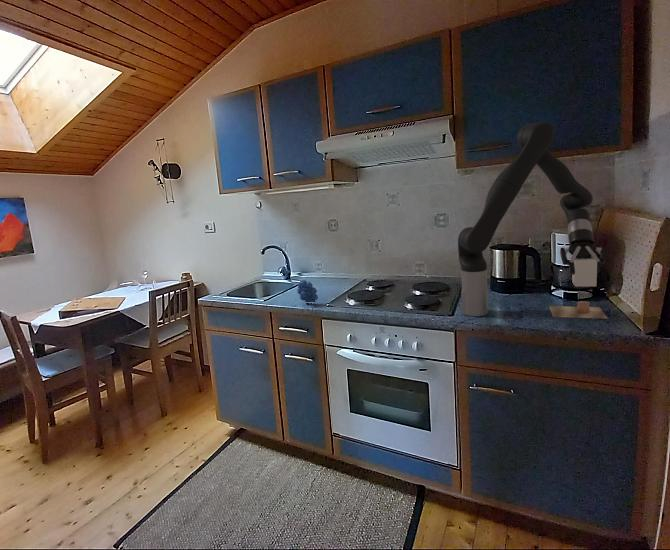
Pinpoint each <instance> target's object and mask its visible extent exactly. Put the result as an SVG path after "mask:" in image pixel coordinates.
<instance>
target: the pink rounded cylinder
mask: <svg viewBox="0 0 670 550" xmlns="http://www.w3.org/2000/svg"><path fill="white" fill-rule="evenodd" d="M590 305H591V304H590V301H587V300H585V301H584V300H580V301H577V306H576V307H577V312H578V313H583V314H587V313H589V309H590V307H591V306H590Z"/></svg>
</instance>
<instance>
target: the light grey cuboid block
mask: <svg viewBox="0 0 670 550" xmlns="http://www.w3.org/2000/svg"><path fill="white" fill-rule="evenodd" d="M573 263H574V267H575V274H574V275H572V277H571V278H572V280H571V281H572V284H573V285H574V286H573V287H597V277H598V274H597V261H596V260H594V259H578V258H577V259H575V260H574V262H573Z"/></svg>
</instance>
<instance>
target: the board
mask: <svg viewBox="0 0 670 550" xmlns="http://www.w3.org/2000/svg"><path fill="white" fill-rule="evenodd" d="M549 310H550V312H551V315H552V317H553V318H570V319H571V318H573V319H574V318H575V319H577V318H581V319H609V318H608V317H607V315H606V313H604V311H603V310H602V308H601V307H599V306H590V309H589V313H587V314H583V313H578V312H577V306H567V305H566V306H563V305H562V306H561V305H560V306H559V305H549Z"/></svg>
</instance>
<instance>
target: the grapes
mask: <svg viewBox="0 0 670 550" xmlns="http://www.w3.org/2000/svg"><path fill="white" fill-rule="evenodd" d="M317 292H318V290H317V289H316V288H315V287H313V284H312V282H310V281H306V280H301V282H298V283H297V290H296V293H297V294H298V295H299V299H300V300H301V301H304V303H305V302H315V303H316V301H317V300H318V299H319V296H318V295H317Z"/></svg>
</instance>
